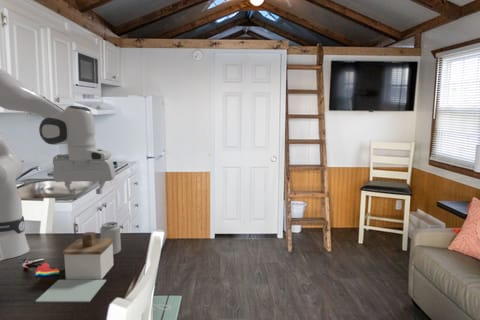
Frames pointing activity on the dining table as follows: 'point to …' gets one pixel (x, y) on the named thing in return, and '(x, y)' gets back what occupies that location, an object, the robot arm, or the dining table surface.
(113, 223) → the can
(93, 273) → the white open square box
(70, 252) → the lid
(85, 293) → the mat
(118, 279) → the dining table surface
